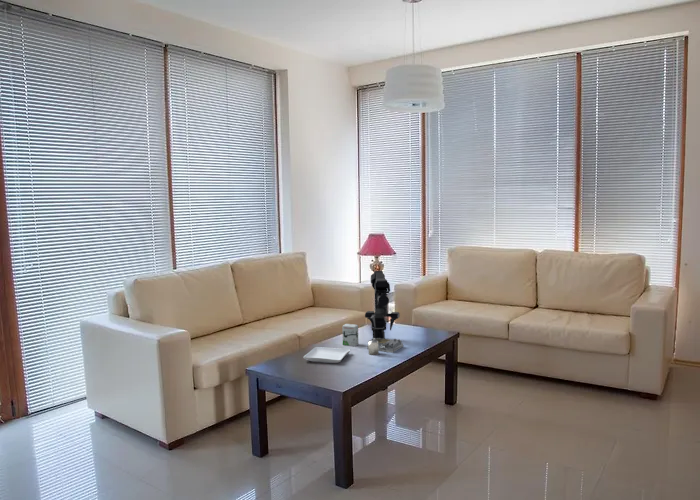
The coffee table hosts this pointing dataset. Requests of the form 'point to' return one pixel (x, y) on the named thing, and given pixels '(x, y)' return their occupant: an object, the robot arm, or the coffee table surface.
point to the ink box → (350, 334)
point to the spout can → (373, 347)
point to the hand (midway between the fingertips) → (382, 329)
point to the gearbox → (389, 345)
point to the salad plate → (326, 354)
